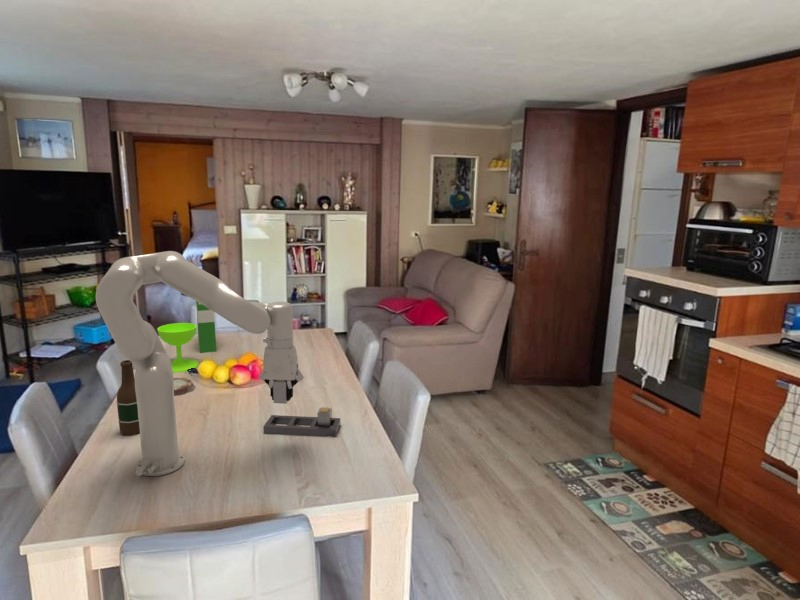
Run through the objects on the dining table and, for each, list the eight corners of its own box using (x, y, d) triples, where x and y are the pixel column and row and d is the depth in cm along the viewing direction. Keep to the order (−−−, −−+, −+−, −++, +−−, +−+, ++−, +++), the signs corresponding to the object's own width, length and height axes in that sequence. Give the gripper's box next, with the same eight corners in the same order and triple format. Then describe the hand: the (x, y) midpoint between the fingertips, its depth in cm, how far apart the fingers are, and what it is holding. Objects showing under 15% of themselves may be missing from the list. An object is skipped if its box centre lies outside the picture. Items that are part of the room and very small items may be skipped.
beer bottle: (116, 437, 167) (109, 366, 162) (122, 426, 174) (116, 358, 169) (143, 434, 169) (137, 364, 164) (148, 424, 176) (142, 356, 171)
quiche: (180, 377, 221) (179, 368, 220) (214, 387, 211) (213, 378, 211) (135, 394, 203) (134, 384, 202) (170, 405, 194) (169, 395, 193)
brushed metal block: (286, 403, 160) (285, 380, 159) (273, 403, 160) (272, 379, 159) (289, 398, 164) (289, 375, 162) (277, 398, 164) (276, 375, 163)
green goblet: (190, 373, 225) (187, 332, 221) (153, 372, 225) (150, 331, 221) (204, 361, 240) (202, 323, 237) (170, 360, 241) (167, 322, 237)
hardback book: (198, 343, 267) (195, 297, 262) (213, 341, 270) (211, 296, 265) (200, 353, 252) (197, 304, 247) (216, 351, 254) (213, 303, 249)
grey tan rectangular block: (329, 433, 173) (329, 411, 171) (317, 432, 173) (317, 411, 172) (331, 427, 177) (331, 406, 175) (320, 427, 177) (320, 406, 175)
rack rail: (340, 424, 179) (340, 418, 179) (335, 436, 170) (335, 430, 170) (271, 421, 180) (271, 415, 180) (263, 433, 172) (263, 426, 171)
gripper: (249, 345, 155) (251, 402, 159) (304, 347, 154) (305, 405, 158) (257, 338, 162) (259, 393, 166) (310, 340, 162) (311, 395, 165)
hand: (281, 398), depth 162 cm, fingers closed on brushed metal block, 4 cm apart
